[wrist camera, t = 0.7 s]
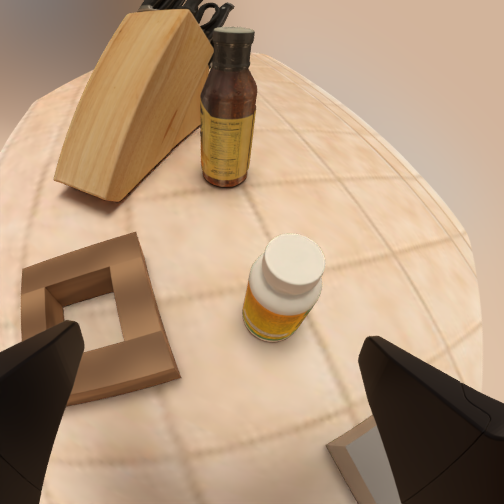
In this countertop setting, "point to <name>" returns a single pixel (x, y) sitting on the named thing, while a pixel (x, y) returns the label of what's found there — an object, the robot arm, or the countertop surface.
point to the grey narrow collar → (365, 464)
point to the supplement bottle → (283, 286)
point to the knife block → (140, 97)
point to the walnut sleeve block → (129, 310)
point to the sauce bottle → (228, 108)
